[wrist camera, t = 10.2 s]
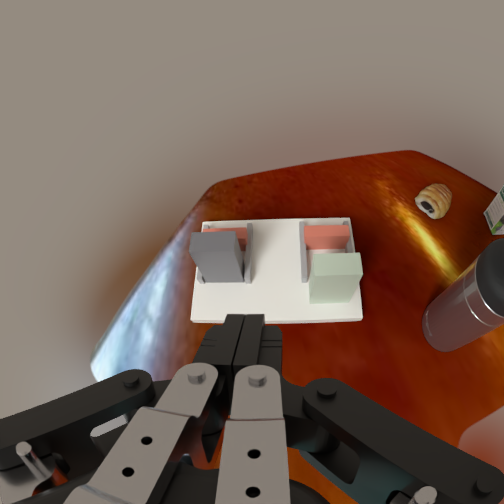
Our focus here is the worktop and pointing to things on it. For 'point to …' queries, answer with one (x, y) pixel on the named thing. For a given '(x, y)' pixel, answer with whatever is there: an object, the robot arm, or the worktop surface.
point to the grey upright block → (218, 256)
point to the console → (277, 272)
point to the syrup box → (496, 214)
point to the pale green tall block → (334, 277)
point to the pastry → (434, 200)
